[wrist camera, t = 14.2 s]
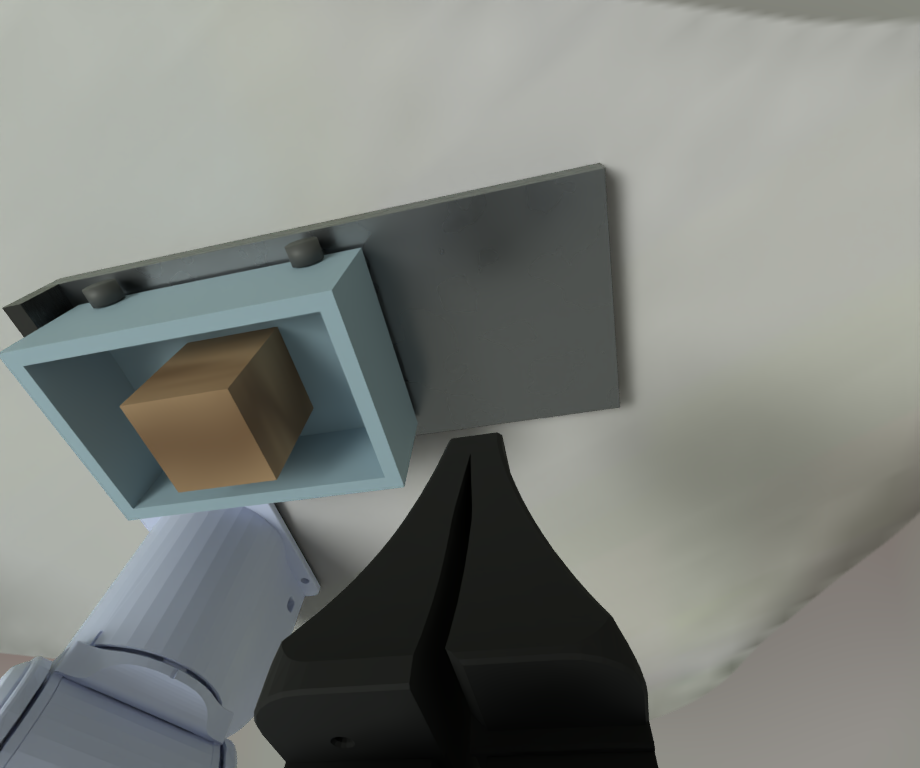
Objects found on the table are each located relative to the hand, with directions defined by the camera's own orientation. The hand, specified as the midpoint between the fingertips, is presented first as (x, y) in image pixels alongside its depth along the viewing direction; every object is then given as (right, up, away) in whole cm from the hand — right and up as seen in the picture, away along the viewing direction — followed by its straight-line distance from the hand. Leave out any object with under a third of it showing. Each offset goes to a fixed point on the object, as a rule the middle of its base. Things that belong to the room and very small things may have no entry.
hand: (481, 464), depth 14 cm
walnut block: (-9, +2, +8) cm, 13 cm away
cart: (-9, +3, +8) cm, 13 cm away
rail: (-6, +4, +9) cm, 11 cm away
